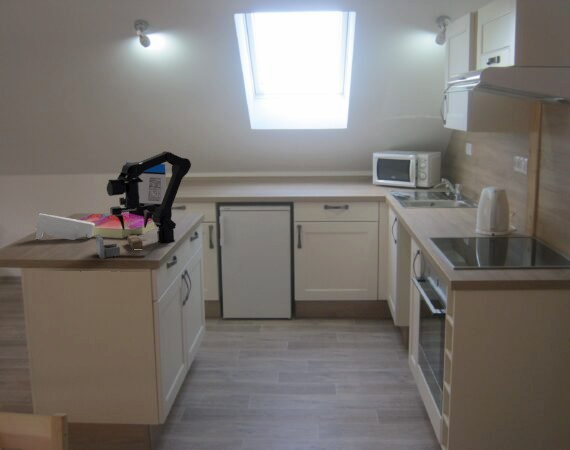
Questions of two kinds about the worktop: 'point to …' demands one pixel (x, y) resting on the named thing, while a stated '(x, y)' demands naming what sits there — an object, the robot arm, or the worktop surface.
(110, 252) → the bracket
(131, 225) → the pink cream flat block
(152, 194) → the protein powder
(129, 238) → the rail
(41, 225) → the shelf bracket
